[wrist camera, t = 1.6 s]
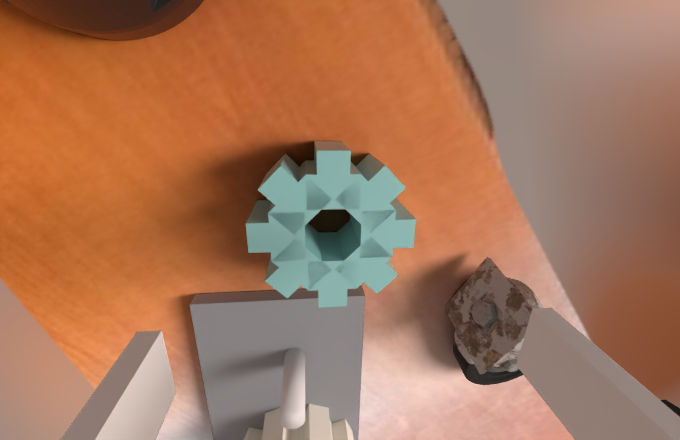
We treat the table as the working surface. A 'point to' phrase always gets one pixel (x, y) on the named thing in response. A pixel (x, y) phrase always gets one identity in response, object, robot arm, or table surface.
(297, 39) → the table surface
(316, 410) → the cream gear
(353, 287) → the teal gear
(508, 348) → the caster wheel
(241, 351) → the gear board
